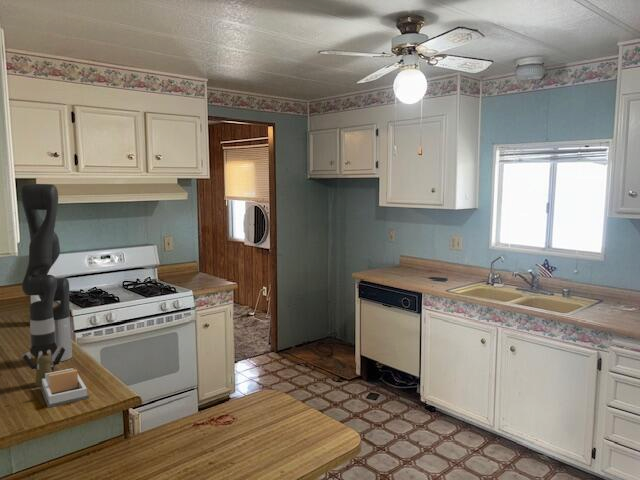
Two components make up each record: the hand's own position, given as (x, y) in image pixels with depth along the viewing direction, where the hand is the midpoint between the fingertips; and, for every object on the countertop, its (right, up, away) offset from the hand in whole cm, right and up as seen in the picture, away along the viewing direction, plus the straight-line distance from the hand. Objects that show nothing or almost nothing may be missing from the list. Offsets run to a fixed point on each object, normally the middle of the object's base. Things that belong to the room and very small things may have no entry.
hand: (45, 377), depth 172 cm
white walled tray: (+11, -3, -8) cm, 14 cm away
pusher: (+10, -2, -7) cm, 13 cm away
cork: (0, -2, 0) cm, 2 cm away
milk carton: (-44, +6, +74) cm, 86 cm away
